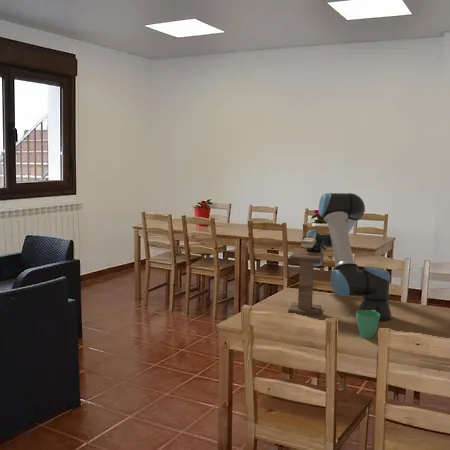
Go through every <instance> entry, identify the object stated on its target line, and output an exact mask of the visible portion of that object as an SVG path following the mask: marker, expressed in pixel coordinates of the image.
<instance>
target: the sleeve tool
mask: <svg viewBox="0 0 450 450" xmlns="http://www.w3.org/2000/svg"><path fill="white" fill-rule="evenodd" d="M301 243H302V247H309V248H312V247H313V246H314V245H315V239H314V235H309V236H308V237H307V238H305V237H304V239H303V240H302V239H301Z"/></svg>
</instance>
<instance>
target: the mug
mask: <svg viewBox="0 0 450 450" xmlns="http://www.w3.org/2000/svg"><path fill="white" fill-rule="evenodd" d="M358 310H359V309H358ZM358 310H357V311H356V312H355V317H356V323H357V324H356V325H357V329H358V332H359V334H360V337H361V336H362V337H361V338H363V337H366V338H365V339H372V338H374V335H375V333H376V331H377V328H378V326H379V323H380V321H379V319H380V313H378V312H377V311H376V310H371V311H370V310H359V311H358ZM371 337H372V338H371Z"/></svg>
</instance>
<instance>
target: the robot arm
mask: <svg viewBox="0 0 450 450" xmlns="http://www.w3.org/2000/svg"><path fill="white" fill-rule="evenodd" d="M365 211H366V207H365V203H364V200H363V199H362V198H361V197H360V196H359V195H358V194H356V193H352V192H349V193H344V192H343V193H342V192H340V193H339V192H336V193H335V192H334V193H332V192H328V193H327V192H325V193H323V194H322V195H321V196H320V198H319V203H318V214H319V216H320V217H323V220H324V222H325V223H327V225H328V230H329V234H328V233H326V234H325V233H320V231H319V230H317V229H310V230H308V231H307V232H306V235H304V236H303V237H302V238H301V241H302V240H303V239H304V238H307V237H308V236H309V235H314V239H315V245H314V246H313V247H312V248H309V247H302V242H301V246H300V249H306V252H319V253H323V250H324V251H325V250H327V248H331V249H332V253H333V257H334V258H333V259H334V264H335V266H334V267H333V268H332V271H331V273H330V277H329V278H330V286H331V288H332V291H333V292H334V294H336V295H337V296H344V297H348V296H352V297H353V296H362V301H361V303H360V305H359V307H358V310H357V311H359V310H370V311H371V310H376V311H377V312H378V313H380V319H379V322H385V321H390V320H391V319H392V311H391V306H390V303H389V294H390V281H391V280H390V278H391V277H390V272H389V271H388V270H386V269H384V268H381V267H380V268H379V267H376V266H375V267H374V266H364V268H363V270H360V269H359V265H358V264H357V263H356V262H354V257H353V251H352V247H351V241H350V237H349V233H350V231H352V229H353V228H354V226H355V225H356V223H357V222H358V221H360V220H362V217H363V216H364V214H365ZM323 262H324V257H323V258H322V260H321V262H320V263H317V262H314V267H320V266H321V265H322V264H323Z"/></svg>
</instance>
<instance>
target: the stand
mask: <svg viewBox="0 0 450 450" xmlns="http://www.w3.org/2000/svg"><path fill="white" fill-rule="evenodd" d="M324 255H325V254H324V252H322V253H319V252H308V251H304V250H303V251H301V250H294V251H293V252H292V253H291V254H290V256H289V261H291V262H292V261H293V262H299V270H298V271H299V273H298V298H297V302H292V303H291V305H290V306H289V308H288V310H287V314H288V313H296V314H301V315H300V316H303V315H308V316H307V317H314V318H318V317H319V315H320V312H321V310H322V305H321V304H313V292H314V289H313V288H314V272H315V271H314V268H315V266H314V262H317V263H320V262H321V260H322V258H323V259H324Z"/></svg>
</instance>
